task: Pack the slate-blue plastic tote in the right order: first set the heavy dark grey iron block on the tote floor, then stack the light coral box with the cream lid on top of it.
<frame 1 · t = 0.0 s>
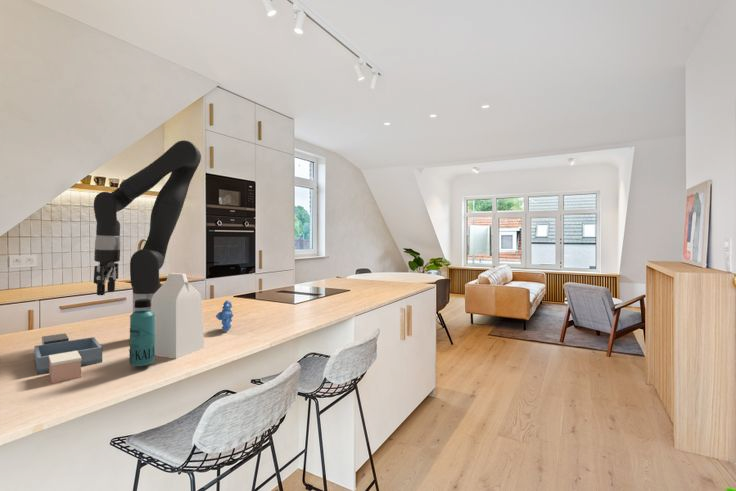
hand: (106, 293, 133), 17 cm above the counter, tool pointing down, fingers open, 8 cm apart
tote: (68, 361, 112), on the counter
iron block: (55, 352, 120), on the counter
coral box: (65, 376, 101), on the counter
beverage bottle: (142, 368, 108), on the counter
grapes: (224, 330, 150), on the counter
milk: (176, 351, 123), on the counter
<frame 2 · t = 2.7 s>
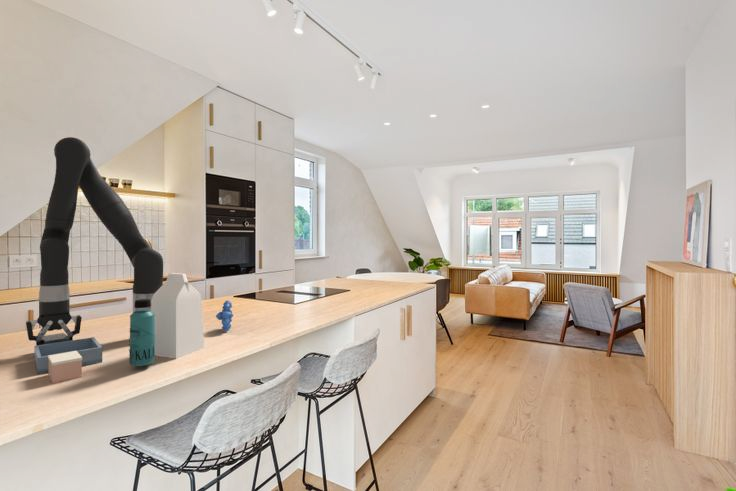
hand: (54, 349, 120), 1 cm above the counter, tool pointing down, fingers closed on iron block, 6 cm apart
iron block: (54, 352, 120), on the counter, touching gripper
everything else where it was.
when the fingers open (3 cm above the counter, at t = 8.4 s): iron block drops 1 cm, resting on tote.
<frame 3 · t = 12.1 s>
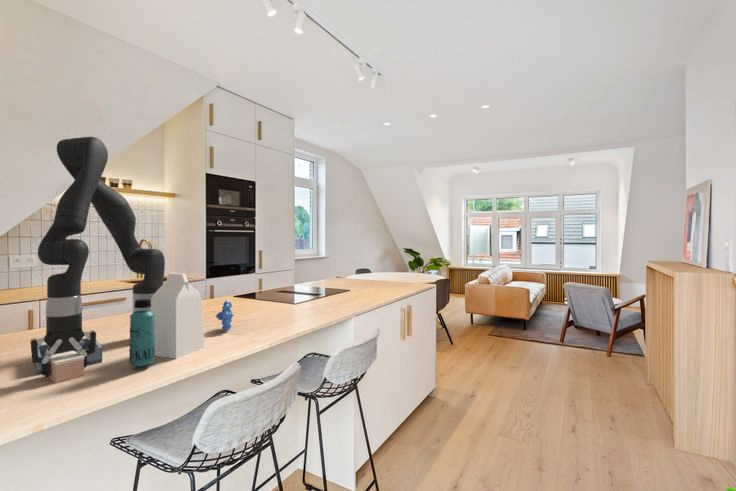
hand: (64, 372, 101), 1 cm above the counter, tool pointing down, fingers open, 7 cm apart
iron block: (69, 357, 112), point 1 cm above the counter, touching tote
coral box: (65, 376, 101), on the counter, touching gripper
everything else where it was.
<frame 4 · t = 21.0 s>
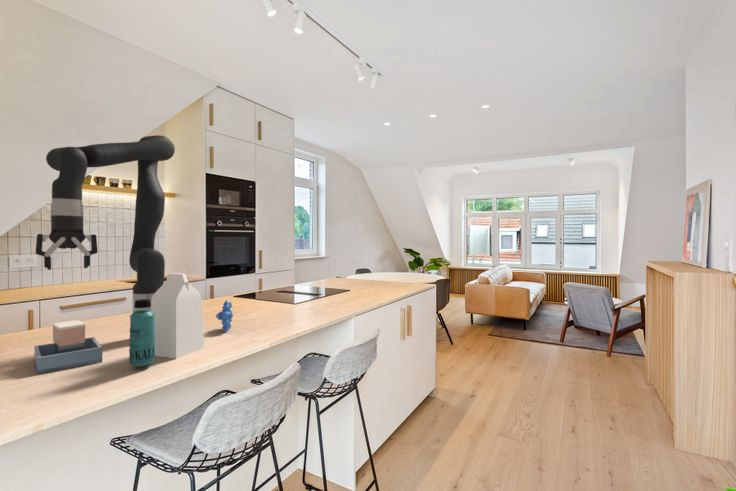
hand: (67, 268, 111), 28 cm above the counter, tool pointing down, fingers open, 8 cm apart
iron block: (69, 357, 112), point 1 cm above the counter, touching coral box, tote
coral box: (69, 341, 112), point 6 cm above the counter, touching iron block
everything else where it was.
at the end: iron block inside the target area on the tote (0.3 cm from its centre), point 1.0 cm above the tote's base; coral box 0.1 cm off-centre on the iron block, point 5.0 cm above the iron block's base; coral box tilted 0° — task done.
